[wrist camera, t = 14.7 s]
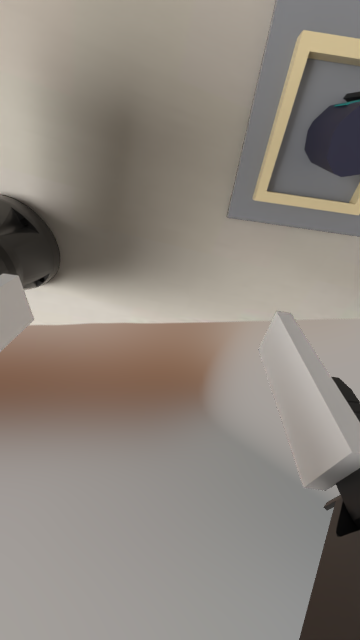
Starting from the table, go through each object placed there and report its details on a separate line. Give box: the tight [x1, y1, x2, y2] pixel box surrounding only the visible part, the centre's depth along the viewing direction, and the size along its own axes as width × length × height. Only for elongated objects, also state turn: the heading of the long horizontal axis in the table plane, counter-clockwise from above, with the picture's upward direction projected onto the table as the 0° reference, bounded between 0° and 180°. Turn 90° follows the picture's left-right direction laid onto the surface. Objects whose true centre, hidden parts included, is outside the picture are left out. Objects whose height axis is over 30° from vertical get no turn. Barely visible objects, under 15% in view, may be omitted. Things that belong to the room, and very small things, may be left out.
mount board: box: [227, 0, 360, 237], centre depth 26 cm, size 20×20×2 cm
